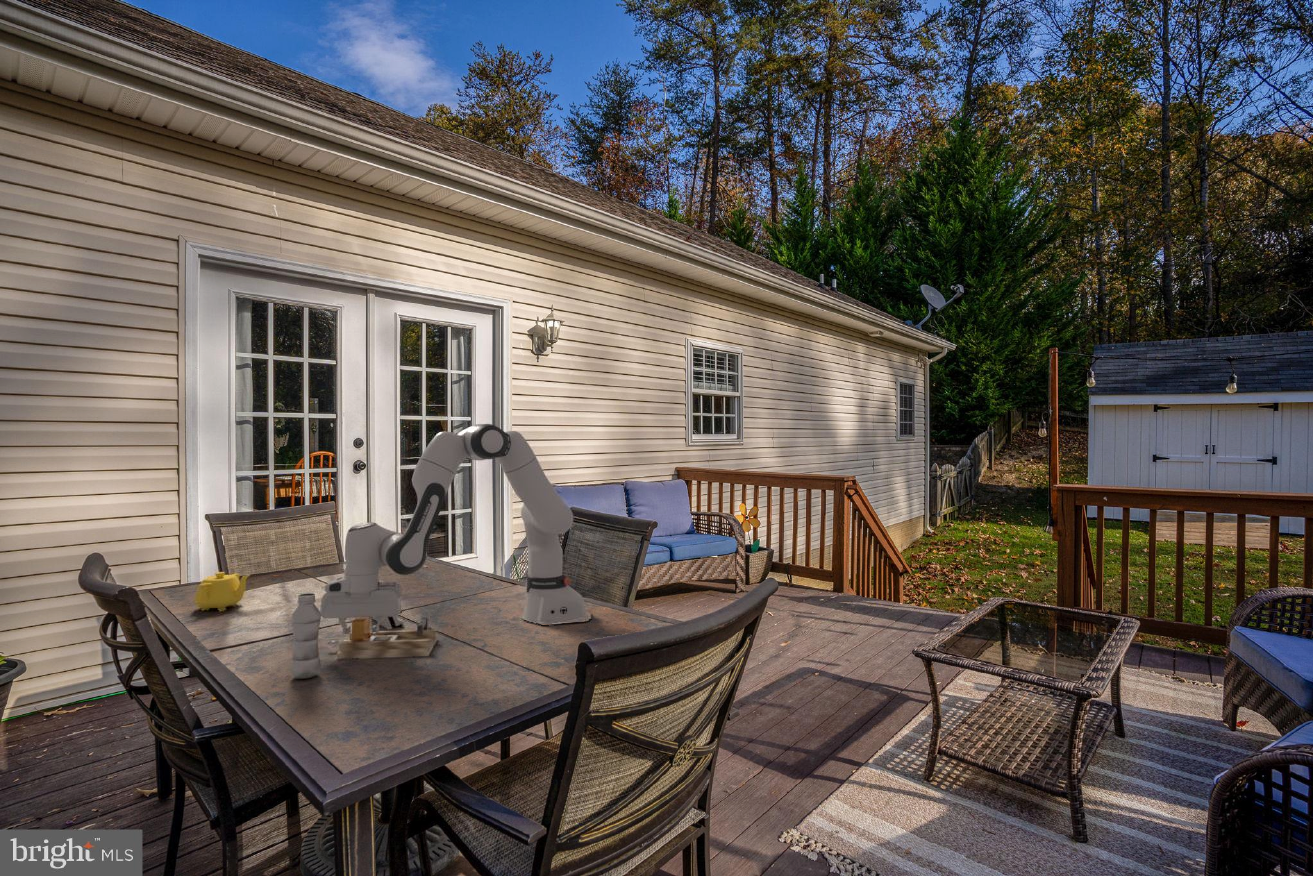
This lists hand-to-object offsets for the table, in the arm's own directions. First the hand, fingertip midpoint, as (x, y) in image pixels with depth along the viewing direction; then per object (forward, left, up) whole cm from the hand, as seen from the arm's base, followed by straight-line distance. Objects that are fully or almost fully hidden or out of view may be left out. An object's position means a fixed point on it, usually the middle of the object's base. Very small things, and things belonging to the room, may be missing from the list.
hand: (361, 633), depth 176 cm
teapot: (+56, -48, -5) cm, 74 cm away
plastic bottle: (+8, +19, -5) cm, 21 cm away
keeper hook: (-16, -3, -3) cm, 16 cm away
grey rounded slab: (0, -25, -5) cm, 26 cm away
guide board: (-7, 0, -5) cm, 9 cm away
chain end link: (0, 0, -3) cm, 3 cm away
